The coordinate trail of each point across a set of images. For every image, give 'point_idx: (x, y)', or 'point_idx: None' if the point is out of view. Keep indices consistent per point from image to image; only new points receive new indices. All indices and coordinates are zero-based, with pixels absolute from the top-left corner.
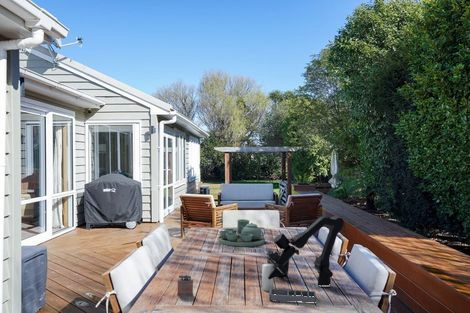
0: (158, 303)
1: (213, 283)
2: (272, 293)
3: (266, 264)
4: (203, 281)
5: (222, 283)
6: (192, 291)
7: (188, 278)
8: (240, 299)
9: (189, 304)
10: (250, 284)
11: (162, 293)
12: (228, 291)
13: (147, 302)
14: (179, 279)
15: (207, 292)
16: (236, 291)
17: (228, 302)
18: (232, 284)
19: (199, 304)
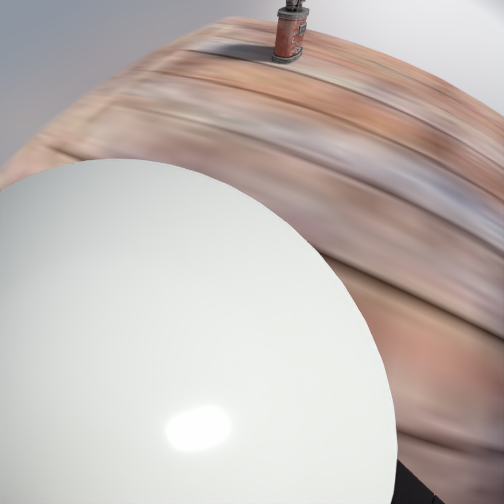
0: (241, 27)
1: (418, 149)
2: None
3: (172, 421)
4: (441, 137)
5: (421, 179)
6: (277, 50)
7: (296, 7)
8: (117, 148)
9: (193, 47)
10: (390, 337)
11: (316, 41)
12: (272, 143)
13: (258, 22)
14: (306, 8)
15: (289, 89)
16: (254, 174)
17: (125, 106)
18: (403, 214)
19: (176, 57)
